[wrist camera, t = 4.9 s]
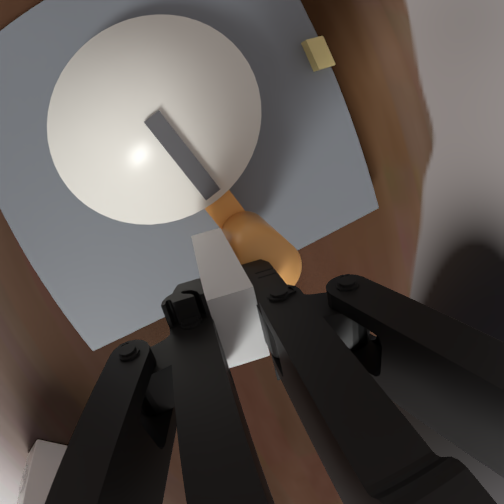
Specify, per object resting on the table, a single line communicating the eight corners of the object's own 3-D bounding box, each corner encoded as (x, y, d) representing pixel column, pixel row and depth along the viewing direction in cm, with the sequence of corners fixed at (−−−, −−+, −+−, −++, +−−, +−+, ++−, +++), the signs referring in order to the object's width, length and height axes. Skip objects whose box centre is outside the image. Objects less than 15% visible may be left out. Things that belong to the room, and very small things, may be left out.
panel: (-34, 77, 13) (-55, 73, 10) (248, -63, 14) (258, -82, 12) (97, 335, 22) (91, 358, 19) (363, 202, 23) (385, 210, 20)
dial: (25, 114, 14) (-36, 109, 8) (179, -7, 13) (186, -67, 8) (181, 299, 20) (187, 365, 14) (322, 188, 19) (385, 212, 13)
